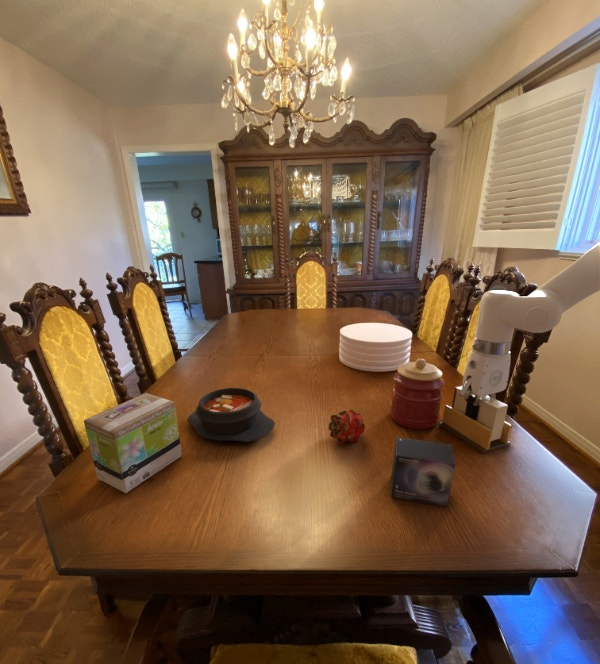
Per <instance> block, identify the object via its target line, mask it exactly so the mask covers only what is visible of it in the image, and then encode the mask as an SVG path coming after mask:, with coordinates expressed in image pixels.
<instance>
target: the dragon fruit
mask: <svg viewBox="0 0 600 664" xmlns="http://www.w3.org/2000/svg"><path fill="white" fill-rule="evenodd" d="M327 427H328V431H330V432H329V436H330V438H333V439H337V440H336V442H337V443H339V444H345V443H347V442H348V441H349V442H351V443H357V442H358V441H359V437H360V436H361V435H362V434H363V433H364V432H365V430H366V425H365V422H364V417H363V415H362V414H361V412H357V411H356V410H355V409H349V410H347V409H345V410H341V411H339V412H338V413H337V414H332V415H331V416H330V422H329V423H328V426H327Z"/></svg>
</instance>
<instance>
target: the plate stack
mask: <svg viewBox="0 0 600 664" xmlns="http://www.w3.org/2000/svg"><path fill="white" fill-rule="evenodd" d="M412 338H413V332H412V331H411V330H410V329H408V328H406V327H403V326H400V325H396V324H391V323H383V322H360V323H359V322H358V323H352V324H348V325H345V326H343V327H341V328H340V329H339V345H338V346H339V350H338V353H339V354H338V360H339V361H340V362H341V363H342V364H343V365H345V366H347V367H349V368H352V369H355V370H360V371H365V372H378V373H381V372H393V371H398V367H400V366H401V365H404V364H405V363H408V362H410V357H411V350H412V349H411V347H412V340H413V339H412Z"/></svg>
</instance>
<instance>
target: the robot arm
mask: <svg viewBox="0 0 600 664" xmlns="http://www.w3.org/2000/svg"><path fill="white" fill-rule="evenodd" d="M599 291H600V241H599V242H598V243H596V244H595V245H594V246H592V247H591V248H590V249H588V250H587V251H586V252H585V253H584V254H582V255H581V256H580V257H579V258H578V259H576V260H575V261H573V262H572V263H571V264H569V265H568V266H567V267H565V268H564V269H562V270H561V271H559V272H558V273H557V274H555V275H554V276H553V277H551V278H550V279H549V280H547V281H546V282H544V283H543V284H541V285H540V286H539V287H537V288H536V289H534V290H533V291H532V292H531V293H529V294H528V295H527V296H520V294H519V293H517V292H514V291H510V290H499V289H498V290H497V289H495V290H488V291H485V292H484V293H483V294H482V295H481V299H480V304H479V309H478V314H477V321H476V326H475V332H474V337H473V343H472V346H471V347H472V348H471V351H470V353H469V356H468V359H467V362H466V365H465V370H464V372H463V378H462V385H461V386H462V387H463V388H462V390H461V392H460V393H459V395H460V396H462V397H463V398H465V400H466V402H467V406H466V411H465V415H466V416H468V417H470V418H471V419H473V420H477V417H478V412H479V407H480V406H479V405H478V403H479V400H480V397H481V396H485V395H488V396H490V397H492V398H494V399H496V397H497V395H498V394H499V393H501V392H503V391H505V390H506V389H507V386H508V382H509V377H510V371H511V357H512V356H511V351H510V350H511V346H512V341H513V337H514V336H513V335H514V332H515V329H517V330H522V331H524V332H528V333H534V334H541V333H542V334H543V333H546V332H549V331H551V330H553V329H554V328H555V327H557V326H558V324H559V323H560V321H561V319H562V317H563V314H564V313H565V312H566V311H568V310H570V309H571V308H573V307H574V306H576V305H577V304H579V303H580V302H582V301H583V300H585V299H587V298H589V297H590V296H592V295H594V294H595V293H597V292H599ZM472 394H473V395H475V398H473V397H472Z"/></svg>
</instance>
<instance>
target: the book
mask: <svg viewBox="0 0 600 664" xmlns="http://www.w3.org/2000/svg"><path fill="white" fill-rule="evenodd" d="M462 388H463V387H462V385H459V386H455V387H454V393H453V398H452V403H451V404H452V405H451V407H452V408H454V409H456V410H457V411H459V412H461V413H463V414H464V415H465V411H466V406H467V402H466V400H465V398H463V397H462V396H460V395H459V393H460V392H461V390H462ZM472 397H473V398H475V395H473V394H472ZM478 405H479V406H480V407H479V412H478V417H477V420H475V421H477V422H478V423H480V424H482V425H484V426H485V427H487V428H489V429H491V430H492V431H493V434H492V438H491V441H493V440H497V439H500V438H501V433H502V429H503V425H504V421H505V420H506V417H507V411H508V408H509V405H508V404H506V403H505V402H502V401H501V400H498V399H496V398H495V399H494V398H492V397H490V396H488V395H485V396H481V397H480V400H479V403H478Z"/></svg>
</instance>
